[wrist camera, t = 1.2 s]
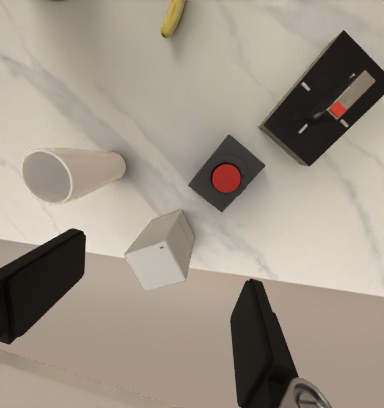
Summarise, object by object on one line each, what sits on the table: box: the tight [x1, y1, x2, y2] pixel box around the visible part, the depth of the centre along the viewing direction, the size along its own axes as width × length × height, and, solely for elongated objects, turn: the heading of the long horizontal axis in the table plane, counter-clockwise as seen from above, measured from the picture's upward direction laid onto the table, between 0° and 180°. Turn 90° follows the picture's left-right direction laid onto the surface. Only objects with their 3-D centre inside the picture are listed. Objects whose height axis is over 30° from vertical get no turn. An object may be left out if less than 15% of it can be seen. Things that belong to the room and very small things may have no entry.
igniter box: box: [188, 135, 265, 212], centre depth 31 cm, size 11×8×4 cm
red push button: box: [212, 164, 241, 193], centre depth 29 cm, size 4×4×2 cm
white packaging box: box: [124, 210, 195, 291], centre depth 32 cm, size 7×7×13 cm
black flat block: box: [259, 30, 384, 166], centre depth 27 cm, size 14×10×3 cm
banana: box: [161, 0, 185, 38], centre depth 24 cm, size 8×2×4 cm, turn 155°
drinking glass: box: [21, 148, 126, 205], centre depth 28 cm, size 7×7×15 cm
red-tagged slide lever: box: [307, 70, 375, 125], centre depth 23 cm, size 5×2×5 cm, turn 142°
